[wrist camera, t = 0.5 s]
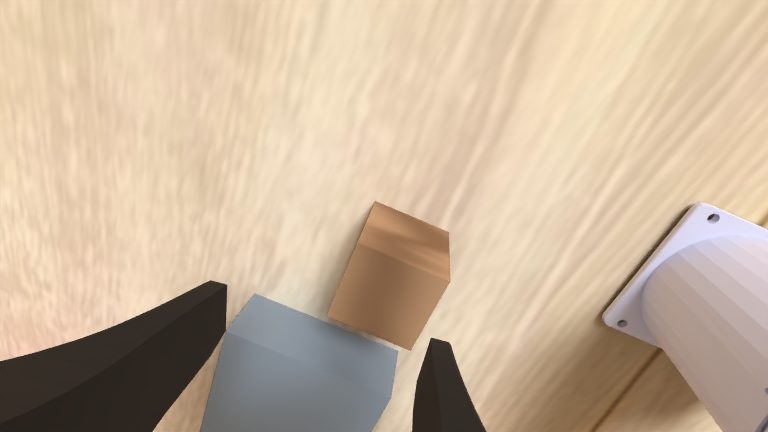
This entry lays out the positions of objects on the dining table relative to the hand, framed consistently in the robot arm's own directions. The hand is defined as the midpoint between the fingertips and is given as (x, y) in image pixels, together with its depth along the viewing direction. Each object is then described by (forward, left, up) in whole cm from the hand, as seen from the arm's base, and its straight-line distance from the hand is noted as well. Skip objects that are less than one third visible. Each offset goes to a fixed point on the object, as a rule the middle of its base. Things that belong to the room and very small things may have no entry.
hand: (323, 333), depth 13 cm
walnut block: (-2, +1, -10) cm, 10 cm away
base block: (0, +13, -10) cm, 16 cm away
